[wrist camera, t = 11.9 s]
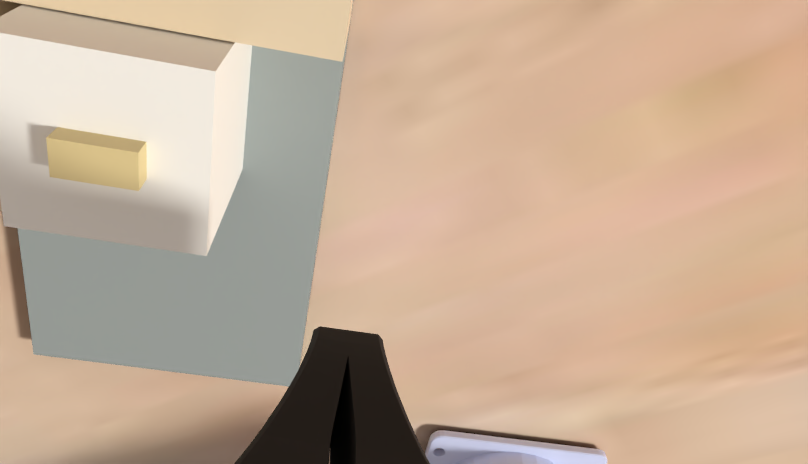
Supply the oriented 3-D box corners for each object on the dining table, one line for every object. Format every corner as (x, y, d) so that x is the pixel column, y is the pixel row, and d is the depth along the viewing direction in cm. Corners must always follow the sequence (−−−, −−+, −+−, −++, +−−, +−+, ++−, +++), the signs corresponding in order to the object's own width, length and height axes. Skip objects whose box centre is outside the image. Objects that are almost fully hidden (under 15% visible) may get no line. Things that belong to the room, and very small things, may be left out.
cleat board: (298, 373, 28) (285, 447, 24) (42, 340, 26) (-6, 413, 23) (358, -35, 19) (352, -4, 16) (-10, -108, 18) (-97, -90, 15)
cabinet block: (242, 168, 22) (201, 269, 17) (81, 142, 21) (-8, 238, 16) (254, 13, 19) (209, 80, 14) (71, -22, 19) (-38, 36, 14)
